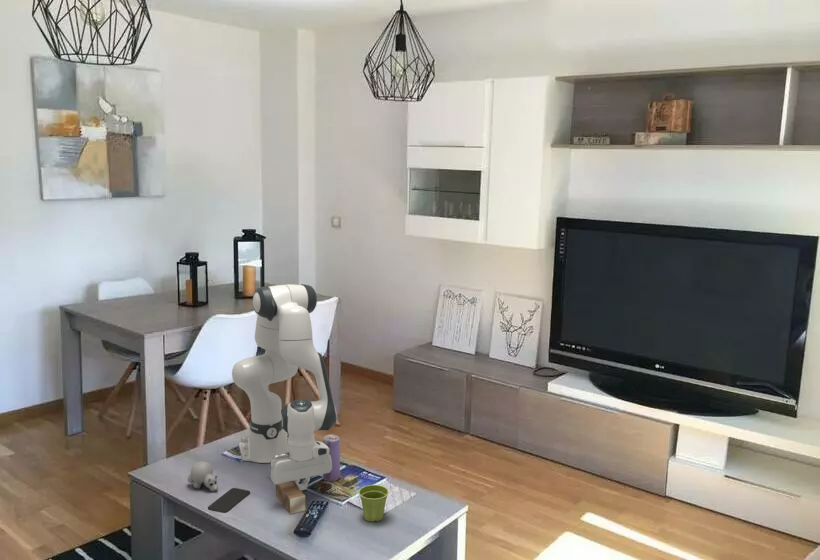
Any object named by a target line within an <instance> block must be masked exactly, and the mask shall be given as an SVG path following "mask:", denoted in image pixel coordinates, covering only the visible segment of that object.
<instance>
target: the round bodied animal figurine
mask: <svg viewBox="0 0 820 560" xmlns="http://www.w3.org/2000/svg"><path fill="white" fill-rule="evenodd" d="M213 470H214V469H213V467H212V465H211V464H210V463H209V462H207V461H198V462H196V463H194V464H193V465H192V467H191V468H190V474H189V475H188V477H187V482H188V483H190V484H193V485H192V486H193V488H195V489H197V488H199V489H200V488H201V487H202V485H203V486H205V487H206V488H208V489H209V490H210V492H214V491H215V492H216V491H218V489H219V487H218V486H219V485H218V479H217V477H218V474H216V475H213V472H214V471H213ZM197 490H198V489H197Z"/></svg>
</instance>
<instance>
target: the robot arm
mask: <svg viewBox="0 0 820 560" xmlns="http://www.w3.org/2000/svg"><path fill="white" fill-rule="evenodd" d="M317 297H318V296H317V293H316V290H315V289H314V288H313V286H312V285H308V284H291V283H290V284H289V283H287V284H280V285H270V286H269V285H267V286H265V285H264V286H261V287H258V288H256V290H255V291H254V292H253V296H252V306H253V309H254V312H255V314H256V315H257V316H256V323H255V331H254V341H255V343H256V345H257V346H258V347H259V348H261V349H262V350H265V352H264V354H260V355H256V356H251V357H246V358H244V359H241V360H239V361H237V362H236V363H235V364H234V365H233V367H232V371H231V376H232V381H233V383H234V384H235V385H236V386H237V387H238V388H239V389H242V390H243V391H244V392H245V394H247V397H248V399H249V403H250V414H251V415H250V416H251V418H250V422H249V428H248V429H247V430H246V431H245V433H244V436H241V441H240V442H239V444H238V447H239V452H240V456H241V459H242V461H244V462H245V461H246V462H247V461H248V462H253V463H260V464H261V463H262V464H270V467H271V469H270V481H271V482H272V483H273V484H274V485H276V484H281V483H285V482H290V481H293V482H294V483H295V484H296V486H297V487H298V488H299V489H300V490H301V492H303V491H306V490H307V489H308V487H307V486H308V484H309V482H310V480H311V477H317V476H320V475H323V474H325V473H330V471H331V470H332V460H331V456H330V454H329V451H330V450H329V448H328V446H327V445H326V444H324V443H323V441H321V440H316V438H315V437H316V436H315V431H330V430H331V429H332V428H333V427H334V426H335V425H336V424H337V420H338V413H337V409H336V408H337V407H336V406H335V403H334V399H333V394H332V390H331V385H330V381H329V375H328V371H327V366H326V363H325V359H324V356H323V355H322V353H321V352H318V351H317V350H316V348H315V346H314V345H315V344H314V340H313V328H312V327H313V326H312V321H311V316H310V314H311V313H313V312H314V310H316V307H317V302H318V298H317ZM299 368H300V369H302V370H303V369H304V370H307V371H308V372H310V373H311V374H313V375H314V377H315V381H316V386H317V391H318V396H319V399H317V400H315V401H314V400H313V401H310V400H309V399H305V398H298V399H295V400H292V401H291V402H288V403H286V404H285V405H284V406H283V407H282V399H281V398H280V396H279V395H278V394H277V393H275V392H272V391H270V389H269V385H270V384H275V383H278V382H280V383H281V382H284V381H287V380H289V379H290V378H292V377H294V376H296V375H297V373H298V369H299ZM302 479H303V482H302V483H300V482H301V480H302Z"/></svg>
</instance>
